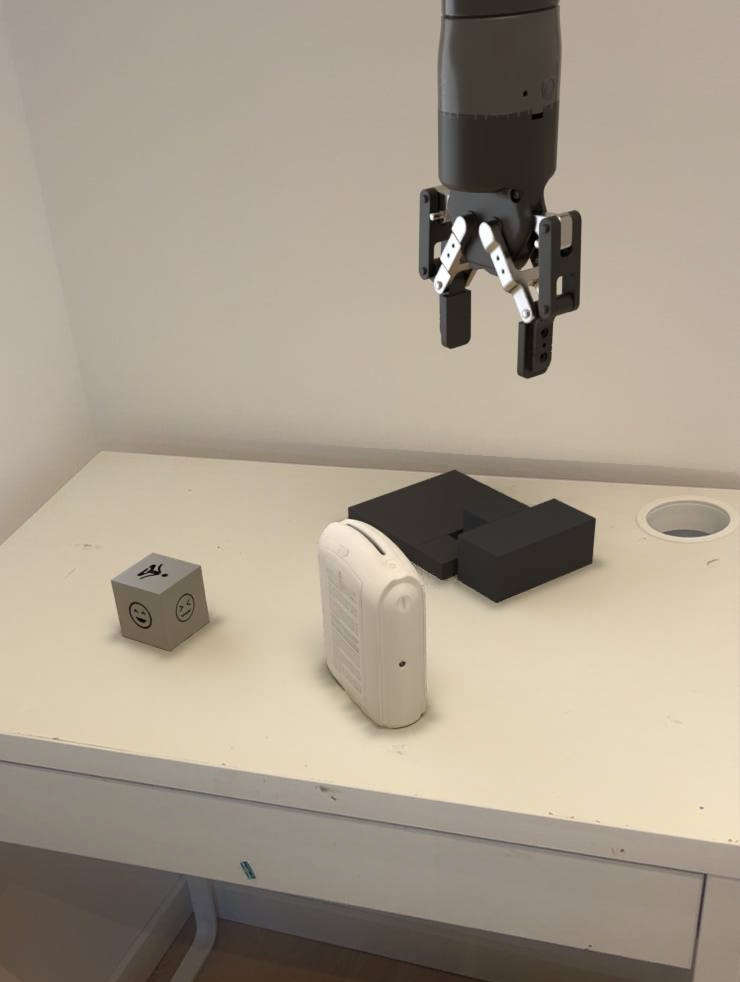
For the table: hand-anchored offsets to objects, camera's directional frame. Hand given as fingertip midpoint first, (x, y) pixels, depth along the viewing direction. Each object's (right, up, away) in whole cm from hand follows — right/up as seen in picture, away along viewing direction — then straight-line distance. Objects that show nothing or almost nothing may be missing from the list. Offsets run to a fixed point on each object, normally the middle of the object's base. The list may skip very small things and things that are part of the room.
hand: (493, 359), depth 82 cm
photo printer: (-8, -24, +1) cm, 25 cm away
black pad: (0, -7, +20) cm, 21 cm away
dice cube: (-24, -18, +11) cm, 32 cm away
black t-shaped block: (+4, -12, +14) cm, 19 cm away
